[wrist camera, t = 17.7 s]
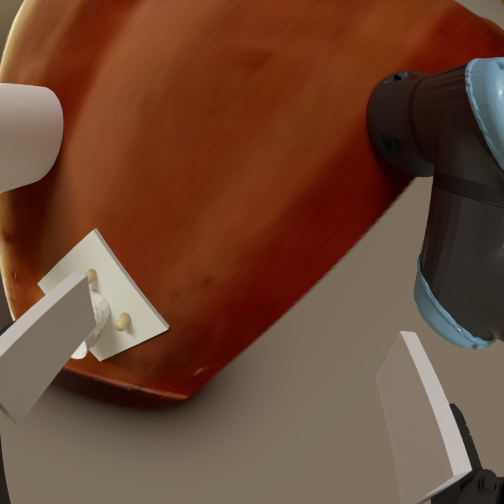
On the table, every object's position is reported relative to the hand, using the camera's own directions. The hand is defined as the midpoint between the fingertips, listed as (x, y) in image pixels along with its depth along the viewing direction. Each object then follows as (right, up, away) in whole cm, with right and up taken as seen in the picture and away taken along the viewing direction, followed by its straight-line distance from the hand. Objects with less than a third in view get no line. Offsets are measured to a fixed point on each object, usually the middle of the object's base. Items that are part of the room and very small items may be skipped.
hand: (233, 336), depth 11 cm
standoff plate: (-27, -6, +34) cm, 44 cm away
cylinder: (-37, +23, +23) cm, 50 cm away
